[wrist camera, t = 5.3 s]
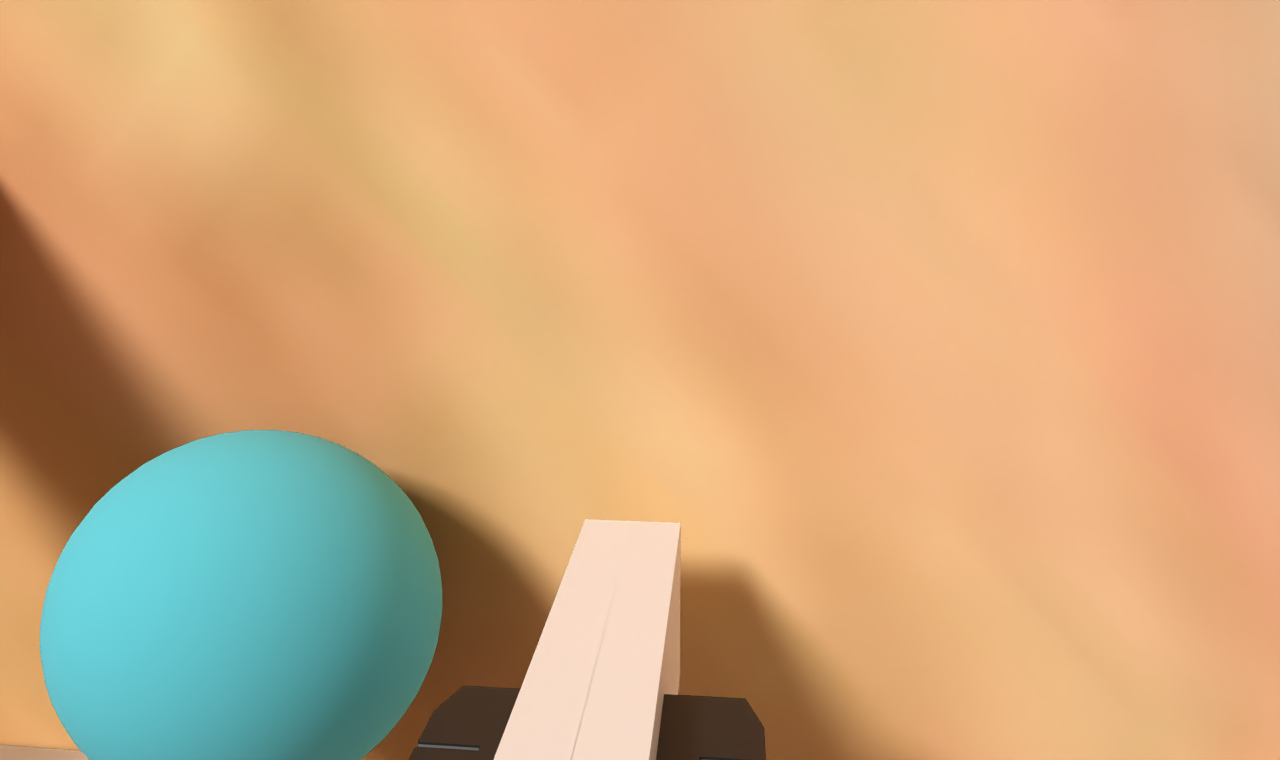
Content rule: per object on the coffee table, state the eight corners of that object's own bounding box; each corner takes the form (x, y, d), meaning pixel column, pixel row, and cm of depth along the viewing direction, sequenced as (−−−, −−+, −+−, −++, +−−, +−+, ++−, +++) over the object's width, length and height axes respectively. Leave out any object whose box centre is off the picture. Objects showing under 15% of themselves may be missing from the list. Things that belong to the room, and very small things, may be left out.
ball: (7, 941, 11) (153, 679, 16) (453, 867, 12) (454, 644, 17) (-102, 545, 9) (98, 397, 15) (421, 499, 10) (433, 377, 16)
